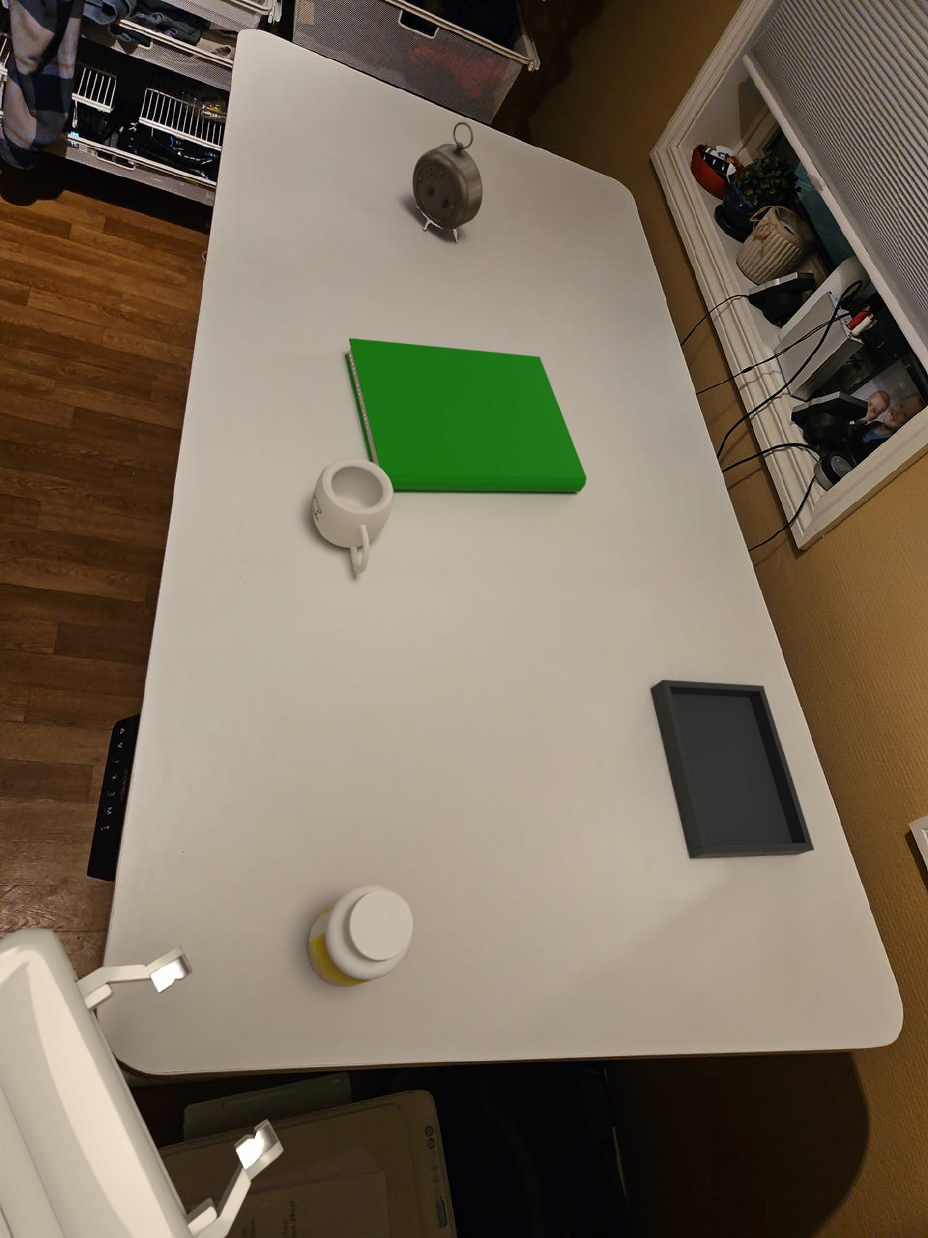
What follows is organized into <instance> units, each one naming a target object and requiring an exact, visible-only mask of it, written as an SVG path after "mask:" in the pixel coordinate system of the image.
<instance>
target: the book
mask: <svg viewBox="0 0 928 1238" xmlns="http://www.w3.org/2000/svg"><path fill="white" fill-rule="evenodd" d="M348 342H349V346H350V348H349V352H350V353H349V352H348V353H345V355H344V358H345V362H346V366H347V371H348V374H349V379H350V383H351V387H352V392H353V396H354V401H355V405H356V408H357V413H358V414H357V415H358V418H359V422H360V426H361V431H362V434H363V435H362V436H363V439H364V443H365V447H366V451H367V456H368V461H370V462H372V463H374V464H375V465H377V466H378V467H380V468H381V469H382V470H383V471H384V472H385V473H386V475H387V476H388V477H389V479H390V481H391V484H392V487H393V491H396V490H397V491H475V492H476V491H480V492H482V491H483V492H555V493H556V492H564V493H565V492H566V493H567V492H568V493H569V492H570V493H572V492H573V493H574V492H575V493H580V492H581V491H582V490H583V489H584V487H585V486H586V482H587V478H588V477H587V475H586V472H585V469H584V467H583V465H582V462H581V460H580V457H579V454H578V452H577V449H576V447H575V444H574V441H573V440H572V437H571V434H570V431H569V428H568V426H567V423H566V421H565V419H564V416H563V413H562V410H561V408H560V406H559V403H558V400H557V397H556V395H555V393H554V390H553V387H552V383H551V382H550V380H549V377H548V374H547V372H546V369H545V367H544V364H543V362H542V359H541V356H537V355H527V354H526V355H525V354H517V353H506V352H498V351H497V352H495V351H488V350H487V351H485V350H476V349H466V348H465V349H463V348H455V347H444V346H435V345H425V344H413V343H404V342H395V341H383V340H373V339H364V338H353V337H349V339H348ZM350 354H351V357H350ZM351 359H352V361H351ZM352 363H353V365H352ZM353 368H354V370H353ZM354 372H355V374H354ZM357 384H358V386H357ZM358 389H359V391H358ZM359 393H360V395H359ZM360 398H361V399H360ZM361 402H362V403H361ZM363 411H364V412H363ZM364 414H365V416H364ZM365 418H366V420H365ZM366 423H367V424H366ZM367 427H368V428H367Z"/></svg>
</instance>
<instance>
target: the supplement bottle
mask: <svg viewBox="0 0 928 1238" xmlns="http://www.w3.org/2000/svg"><path fill="white" fill-rule="evenodd" d="M413 937H414V917H413V913H412V910H411V908H410V906H409V904H408V903H407V901H406V900H405V899H404V898H403V897H402V896H401V895H400V894H398V893H397V892H396V891H395V890H393V889H391V888H389V887H388V886H384V885H381V884H377V883H366V884H361V885H360V884H359V885H358V886H355V887H352V888H351V889H348V890H347V891H346V892H345V893H343V894H342V895H341V896H340V897H339V898H337V899H336V900H335V901H334V902H333V903H332V904H330V905H329V906H328V907H326V908H325V909H324V910H323V911H322V912H321V913H320V914H319V915H318V917H317V918H316V920H315V921H314V923H313V925H312V927H311V929H310V932H309V937H308V944H307V945H308V955H309V956H308V957H309V959H310V963H311V965H312V967H313V969H314V971H316V973H317V974H318V975H319V977H321V978H322V979H323V980H325V981H326V982H328V983H330V984H332V985H334V986H338V987H353V986H356V985H361V984H363V983H367V982H370V981H373V980H377V979H380V978H383V977H386V976H387V975H389V974H391V973H392V972H394V971H396V969H397V968H398V967H399V966H400V965H401V964H402V963H403V961H404V960H405V959H406V957H407V955H408V954H409V952H410V950H411V946H412V943H413Z"/></svg>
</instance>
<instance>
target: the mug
mask: <svg viewBox="0 0 928 1238" xmlns="http://www.w3.org/2000/svg"><path fill="white" fill-rule="evenodd" d="M394 500H395V493H394V490H393V487H392V484H391V481H390V479H389V477H388V476H387V475H386V473H385V472H384V471H383V470H382V469H381V468H380V467H378V466H377V465H375V464H374V463H372V462H370V460H369V459H368V460H367V459H365V458H360V457H355V456H346V457H341V458H337V459H336V460H333V461H332V462H330V463H329V464H328V465H326V466H325V468H324V469H322V471H321V473H320V474H319V476H318V478H317V480H316V483H315V485H314V489H313V494H312V501H311V502H312V503H311V508H312V509H311V510H312V517H313V520H314V524H315V526H316V528H317V530H318V532H319V533H320V535H321V536H322V537H323V538H324V539H325V540H326V541H328V542H329V543H331V544H333V545H335V546H337V547H341V548H347V549H348V548H349V549H350V557H351V558H350V559H351V563H352V566H353V569H354V572H355V573H358V574H363V573H364V572H365V571H366V569H367V567H368V564H369V559H370V550H371V549H370V545H371V543H370V542H371V541H372V540H374V539H375V538H376V537H377V536H378V535H379V534H380V533H381V532H382V530H383V529H384V527H385V526H386V524H387V522H388V520H389V517H390V515H391V512H392V509H393V506H394V505H393V504H394ZM358 547H362V555H361V560H360V561H361V562H360V563H359V557H358Z"/></svg>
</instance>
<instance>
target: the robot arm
mask: <svg viewBox="0 0 928 1238" xmlns="http://www.w3.org/2000/svg"><path fill="white" fill-rule="evenodd" d="M192 973H193V969H192V966H191V965H190V963H189V960H188V958H187V955H186V953H185V952H184V950H183V947H182V945H178V946H176V947H174V948H172V949H170V950H169V951H167V952H166V953H164V954H162V955H160V956H159V957H158V958H156V959H155V960H152V961H151V962H150V963H148V964H146V965H145V963H138V964H124V965H123V964H121V965H112V966H110V965H109V966H101V967H98V968H97V969H95V970H94V971H92V972H90V973H89V974H87V975H85V976H84V977H82V978H81V979H79V977H78V975H77V973H76V971H75V969H74V966H73V964H72V963H71V960H70V958H69V955H68V953H67V952H66V949H65V947H64V945H63V943H62V940H61V938H60V937H59V935H57V933H56V932H55V931H53V930H51V929H49V928H43V927H37V926H33V927H32V926H28V927H27V926H26V927H24V928H20V929H18V930H16V931H14V932H12V933H10V934H8V935H7V936H5V937H3V938H2V939H0V1238H226V1237H227V1235H228V1234H229V1232H230V1230H231V1228H232V1225H233V1223H234V1222H235V1219H236V1217H237V1215H238V1213H239V1211H240V1208H241V1206H242V1204H243V1202H244V1200H245V1198H246V1196H247V1193H248V1191H249V1189H250V1187H251V1186H252V1180H253V1179H254V1178H255V1177H256V1176H257V1175H259V1174H260V1173H261V1172H262V1171H263V1170H264V1169H265V1168H267V1167H268V1166H269V1165H270V1164H272V1162H274V1161H275V1160H276V1159H277V1158H279V1156H280V1155H281V1154H282V1153H283V1152H284V1148H283V1146H282V1144H281V1142H280V1140H279V1138H278V1136H277V1134H276V1131H275V1130H274V1128H273V1126H272V1125H271V1123H270V1121H269V1120H268V1119H265V1120H263V1121H261V1122H260V1123H259V1124H257V1125H256V1126H255V1127H254V1128H253V1130H252V1132H251V1134H245V1135H243V1137H241V1138H240V1139H239V1140H238V1141H236V1142H235V1143H234V1144H233V1147H234V1150H235V1152H236V1154H237V1156H238V1159H239V1163H238V1165H237V1167H236V1169H235V1171H234V1173H233V1176H232V1178H231V1179H230V1182H229V1183H228V1185H227V1187H226V1189H225V1191H224V1193H223V1194H222V1196H221V1199H220V1201H219V1203H218V1205H217V1207H216V1204H215V1203H214V1200H213V1199H212V1198H211V1197H207V1199H205V1200H204V1201H202V1203H200V1204H199V1205H198V1206H196V1207H195V1208H194V1209H192V1211H190V1212H189V1213H187V1211H186V1209H185V1207H184V1205H183V1203H182V1200H181V1198H180V1195H179V1193H178V1192H177V1190H176V1187H175V1185H174V1183H173V1181H172V1179H171V1176H170V1175H169V1172H168V1170H167V1168H166V1166H165V1164H164V1161H163V1159H162V1157H161V1155H160V1152H159V1150H158V1148H157V1146H156V1144H155V1142H154V1140H153V1138H152V1135H151V1133H150V1131H149V1128H148V1126H147V1125H146V1122H145V1120H144V1117H143V1116H142V1114H141V1112H140V1109H139V1107H138V1105H137V1103H136V1100H135V1099H134V1097H133V1094H132V1092H131V1090H130V1088H129V1086H128V1084H127V1081H126V1079H125V1077H124V1075H123V1073H122V1071H121V1068H120V1066H119V1064H118V1062H117V1060H116V1057H115V1055H114V1053H113V1051H112V1049H111V1047H110V1045H109V1042H108V1041H107V1037H106V1036H105V1033H104V1031H103V1030H102V1029H103V1028H102V1027H101V1025H100V1023H99V1021H98V1018H97V1017H96V1014H95V1012H94V1010H95V1009H96V1008H98V1007H99V1006H101V1005H103V1004H104V1003H105V1002H107V1001H109V1000H110V999H112V998H113V997H114V996H115V991H114V989H113V986H111V985H116V984H127V983H137V982H139V983H140V982H151V981H152V982H153V984H154V986H155V988H156V989H157V992H158V993H159V994H158V995H160V994H162V993H163V992H165V991H166V990H168V989H169V988H171V987H172V986H173V984H174V983H175V981H182V980H184V979H185V978H186V977H187V976H189V975H191V974H192Z"/></svg>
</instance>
